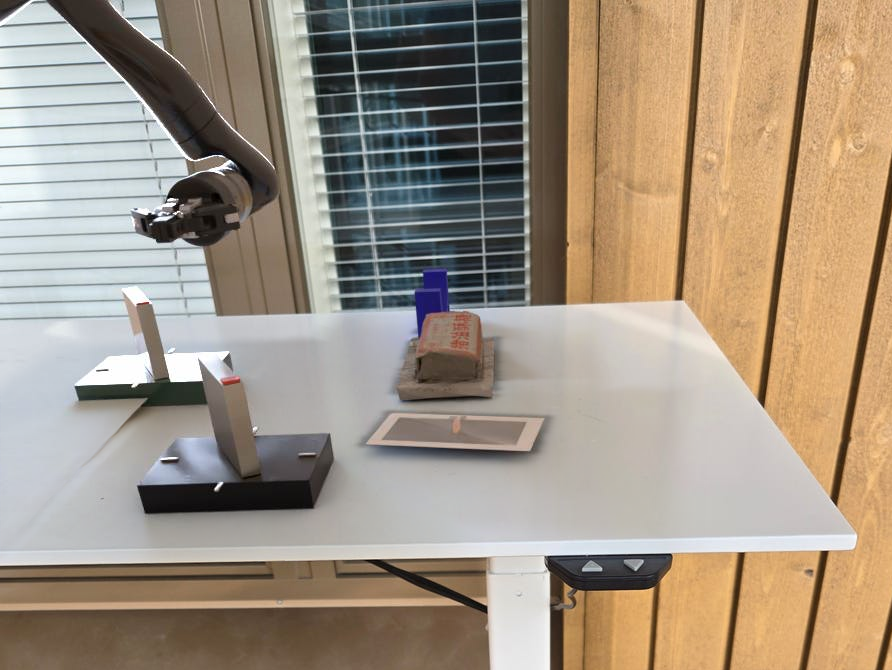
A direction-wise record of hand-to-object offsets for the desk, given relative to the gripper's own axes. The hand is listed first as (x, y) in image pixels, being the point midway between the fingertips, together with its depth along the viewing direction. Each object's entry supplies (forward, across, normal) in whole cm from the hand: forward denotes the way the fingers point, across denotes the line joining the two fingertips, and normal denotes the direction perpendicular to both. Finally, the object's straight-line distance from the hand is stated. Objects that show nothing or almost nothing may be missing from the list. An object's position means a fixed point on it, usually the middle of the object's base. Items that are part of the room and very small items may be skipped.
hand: (160, 232), depth 94 cm
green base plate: (+6, -2, +15) cm, 16 cm away
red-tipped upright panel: (+32, +14, +13) cm, 37 cm away
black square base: (+32, +14, +15) cm, 38 cm away
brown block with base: (+4, +30, +15) cm, 34 cm away
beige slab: (+6, -2, +13) cm, 14 cm away
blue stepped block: (-14, +28, +15) cm, 35 cm away
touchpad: (+24, +32, +15) cm, 43 cm away
